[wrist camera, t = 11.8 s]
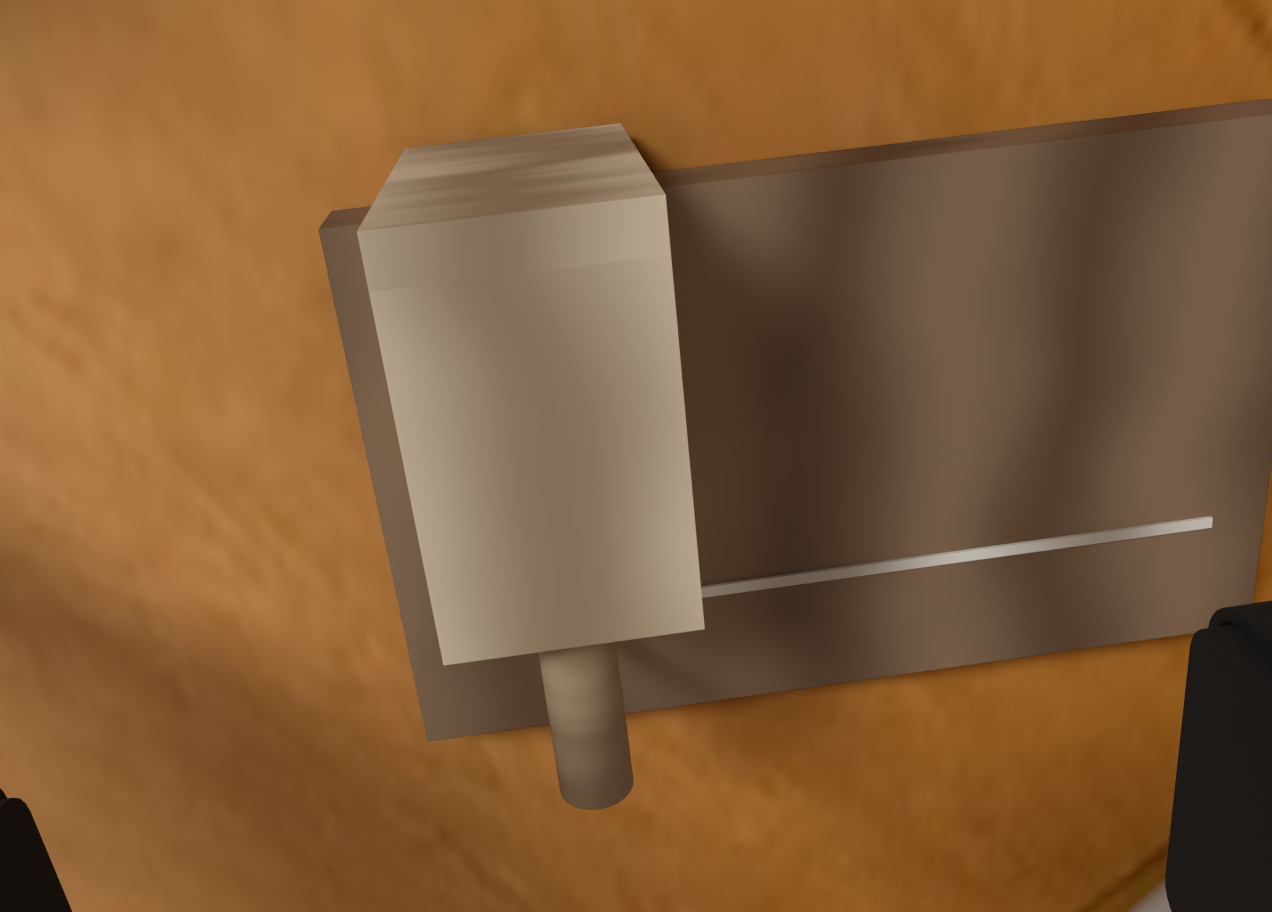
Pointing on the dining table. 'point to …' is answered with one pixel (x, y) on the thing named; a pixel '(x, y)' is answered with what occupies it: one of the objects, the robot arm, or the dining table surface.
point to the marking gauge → (541, 415)
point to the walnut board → (928, 408)
